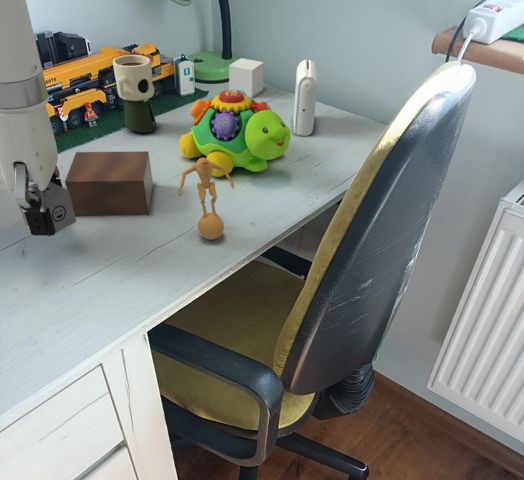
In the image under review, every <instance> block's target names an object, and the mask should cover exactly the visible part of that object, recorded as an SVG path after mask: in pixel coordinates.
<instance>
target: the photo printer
mask: <svg viewBox="0 0 524 480" xmlns="http://www.w3.org/2000/svg"><path fill="white" fill-rule="evenodd" d="M318 73H319V72H318V68H317V65H316V63H315V62H314V61H313V60H312V59H309V60H307V59H303V60H302V61H301V62H300V63H299V64H298V66H297V68H296V73H295V74H296V75H295V91H294V105H293V121H292V124H293V132H294V134H296V135H297V136H300V137H301V136H302V137H307V136H310V135H312V134H313V130H314V123H315V116H316V115H315V114H316V105H317V93H318V83H319V75H318Z"/></svg>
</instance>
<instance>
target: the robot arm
mask: <svg viewBox="0 0 524 480" xmlns="http://www.w3.org/2000/svg"><path fill="white" fill-rule="evenodd" d="M33 29H34V28H33V25H32V21H31V17H30V12H29V8H28V4H27V0H0V171H1V175H2V178H3V182H4V185H5V188H6V190H7V191H10V192H13V191H14V200H15V202H16V204H18V206H19V205H20V206H21V208H22V211H23V212H24V213H25V216H26V219H27V223H28V226H27V227H28V228H29V232H30V234H31V235H32V236H34V237H35V236H36V237H37V236H42V237H43V236H46V237H48V236H50V237H52V236H55V235H56V234H57V233H56V230H55V227H54V223H53V220H52V216H51V213H50V209H49V208H46V202H45V194H44V189H45V188H46V187H47V186H48V184H49V182H52V183H54V184H56V185H59V186H61V187H63V183H62V179H61V178H60V176H61V174H60V170H59V168H58V166H57V164H58V161H59V152H58V146H57V142H56V137H55V133H54V130H53V126H52V123H51V119H50V115H49V112H48V109H47V106H46V105H47V104H48V103H49V101H50V96H49V92H48V88H47V83H46V80H45V76H44V71H43V67H42V63H41V59H40V54H39V50H38V46H37V42H36V37H35V33H34V30H33ZM30 183H33V184H38V187H29V186H30ZM29 192H37V193H38V201H39V202H38V201H37V200H35V199H31V196H30V195H29Z"/></svg>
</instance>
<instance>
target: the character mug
mask: <svg viewBox="0 0 524 480" xmlns="http://www.w3.org/2000/svg"><path fill="white" fill-rule="evenodd" d="M112 65H113V66H112V67H113V71H114V78H115V83H116V91H117V95H118V97H119V98H120V99H122V100H124V104H123V105H124V126H125V128H126V129H127V130H130V131H132V132H136V133H147V132H151V131H154V128H156V129H157V122H156V117H155V112H154V109H153V106H152V105H153V104H152V102H151V98H153V96H154V95H155V87H154V84H153V79H152V78H153V70H152V63H151V59H150V58H149V57H147V56H145V55H140V54H125V55H120V56H117V57H115V58H113V60H112Z"/></svg>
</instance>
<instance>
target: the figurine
mask: <svg viewBox="0 0 524 480" xmlns="http://www.w3.org/2000/svg"><path fill="white" fill-rule="evenodd" d="M213 168H215V169H218V170H223V172H224V174H225V175H224V176H225V177H226V179H227V180H228V181H229V183H230V187H231V188H232V190H234V189H235V185H234V181H233V180H232V178H231V176H230V175H229V174H230V173H229V174H228V173H227V171H226V169H225V168H224V167H223V166H220V165H217V164H215V163H213V162H210V161H208V160H207V157H199V158H198V160H197V161H196V163H194V164H192V165H191V166H190V167H189V168H187V169H185V170H184V171H183V172H182V175H181V180H180V184H179V187H178V188H179V189H178V195H179V196H180V197H182V196H183V193H184V191H183V188H184V185H185V181H186V176H187V175H190V174H191V173H193V172H195V171H196V173H197V175H198V177H199V179H200V182H198V183H197V184H196V187H197V190H198V197H199V199H200V204H201V208H202V212H203V213H202V214H203V215H202V216H200V218H199V220H198V223H197V230H198V233H199V234H200V236H202V237H203V238H204V239H206V240H210V241H212V240H217V239H218V238H220V237H221V236H222V234H223V232H224V230H225V223H224V220H223V218H222V217H221V216H220V215H218V213H217V212H216V207H215V203H216V202H217V199H218V195H217V190H216V182H215V181H214V180H212V181H211V177H212V175H211V174H212V169H213ZM206 190H208V194H209V195H210V196H211V197H212V198H211V199H210V203H211V205H210V206H211V212H207V208H206V207H207V206H206V201H205V199H206V196H207V191H206Z"/></svg>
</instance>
